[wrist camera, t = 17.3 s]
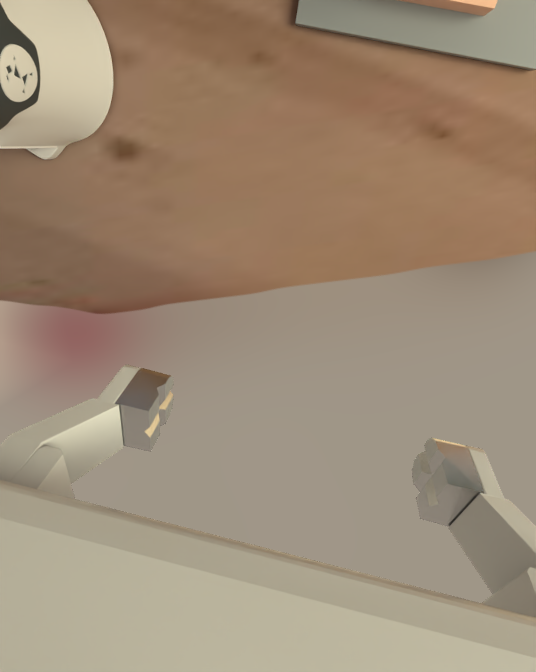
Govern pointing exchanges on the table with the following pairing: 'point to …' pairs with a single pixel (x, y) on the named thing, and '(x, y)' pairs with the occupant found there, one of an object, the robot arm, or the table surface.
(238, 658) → the robot arm
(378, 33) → the socket board
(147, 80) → the table surface
